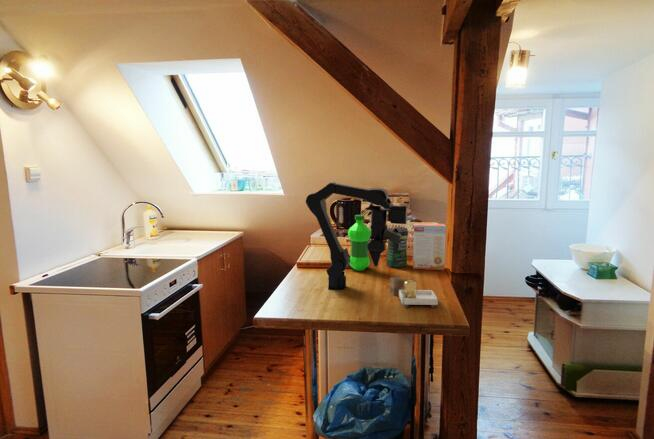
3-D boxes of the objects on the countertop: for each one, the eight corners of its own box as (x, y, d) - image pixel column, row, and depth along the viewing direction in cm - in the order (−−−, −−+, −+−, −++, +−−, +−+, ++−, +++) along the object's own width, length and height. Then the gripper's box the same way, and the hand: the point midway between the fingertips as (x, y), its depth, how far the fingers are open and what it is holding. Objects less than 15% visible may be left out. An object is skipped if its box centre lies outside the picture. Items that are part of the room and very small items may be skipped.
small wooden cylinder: (403, 295, 140) (404, 279, 139) (415, 295, 140) (415, 279, 139) (405, 300, 136) (405, 283, 135) (416, 300, 136) (417, 283, 135)
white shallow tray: (402, 307, 134) (402, 298, 133) (398, 298, 143) (398, 289, 142) (437, 308, 133) (438, 299, 133) (431, 298, 142) (432, 290, 142)
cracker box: (443, 267, 182) (445, 223, 179) (444, 271, 177) (446, 225, 173) (412, 265, 185) (414, 222, 182) (412, 269, 180) (414, 224, 176)
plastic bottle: (348, 265, 186) (348, 213, 182) (370, 266, 185) (371, 213, 181) (347, 271, 176) (347, 217, 172) (370, 272, 175) (371, 217, 171)
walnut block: (393, 296, 146) (394, 280, 145) (389, 292, 150) (390, 277, 149) (403, 295, 147) (404, 280, 146) (399, 291, 151) (399, 276, 150)
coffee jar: (394, 269, 180) (395, 229, 177) (383, 265, 187) (384, 226, 183) (410, 266, 184) (411, 227, 181) (399, 262, 191) (400, 224, 188)
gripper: (400, 228, 135) (397, 271, 138) (401, 219, 153) (399, 257, 156) (368, 226, 138) (366, 269, 140) (372, 217, 156) (371, 255, 158)
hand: (377, 262), depth 149 cm, fingers open, 9 cm apart
